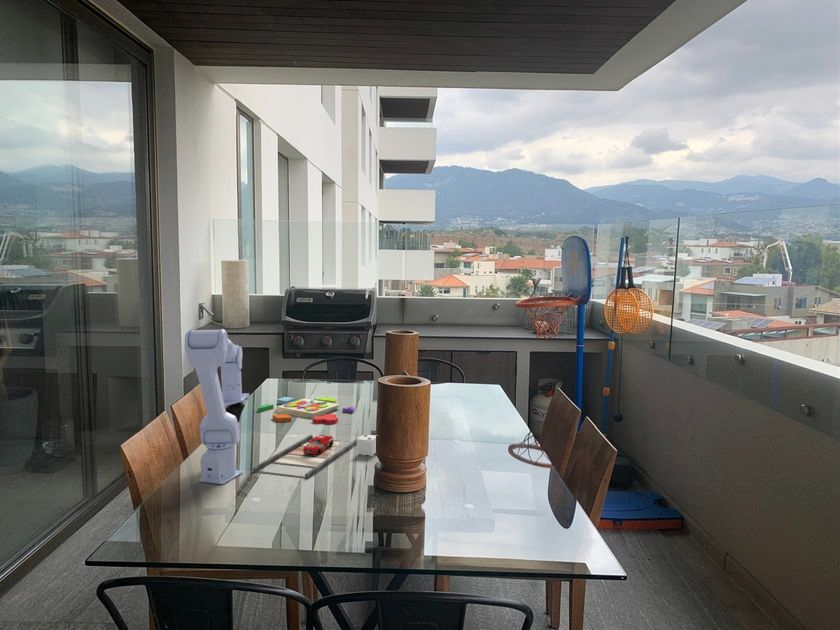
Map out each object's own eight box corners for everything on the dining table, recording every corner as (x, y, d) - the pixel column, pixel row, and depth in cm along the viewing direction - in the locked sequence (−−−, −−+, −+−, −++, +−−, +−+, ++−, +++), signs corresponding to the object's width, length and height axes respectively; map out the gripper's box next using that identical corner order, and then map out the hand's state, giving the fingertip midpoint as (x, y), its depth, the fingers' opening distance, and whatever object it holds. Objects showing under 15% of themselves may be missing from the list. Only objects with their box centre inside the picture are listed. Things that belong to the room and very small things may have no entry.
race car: (315, 457, 190) (315, 444, 189) (300, 455, 192) (299, 443, 191) (336, 444, 202) (336, 432, 201) (322, 442, 204) (321, 430, 203)
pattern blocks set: (240, 420, 235) (240, 412, 235) (286, 399, 267) (286, 392, 267) (332, 427, 224) (332, 419, 223) (368, 404, 255) (368, 397, 255)
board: (308, 478, 173) (308, 474, 172) (252, 471, 179) (252, 467, 178) (359, 443, 203) (358, 439, 203) (310, 438, 209) (310, 434, 209)
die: (372, 456, 190) (371, 440, 189) (357, 454, 192) (356, 438, 191) (378, 451, 195) (378, 435, 194) (363, 449, 196) (363, 433, 196)
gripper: (227, 390, 180) (230, 436, 181) (256, 380, 193) (258, 422, 195) (207, 389, 182) (210, 434, 184) (237, 378, 196) (239, 421, 197)
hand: (233, 428), depth 189 cm, fingers closed
